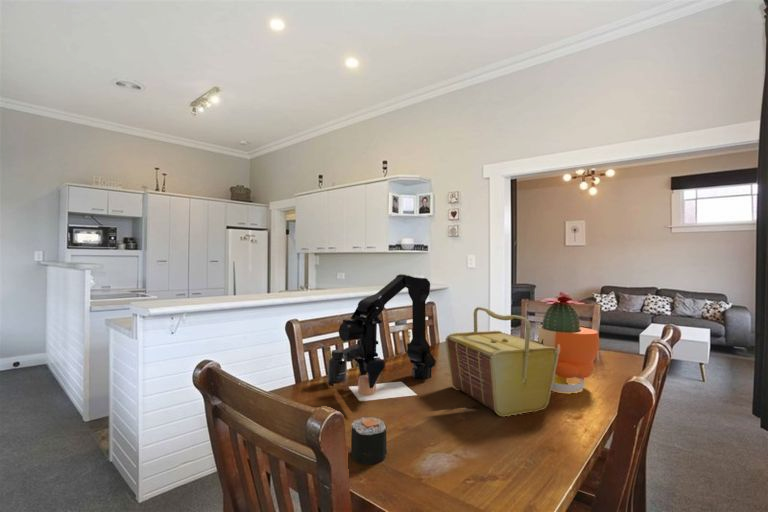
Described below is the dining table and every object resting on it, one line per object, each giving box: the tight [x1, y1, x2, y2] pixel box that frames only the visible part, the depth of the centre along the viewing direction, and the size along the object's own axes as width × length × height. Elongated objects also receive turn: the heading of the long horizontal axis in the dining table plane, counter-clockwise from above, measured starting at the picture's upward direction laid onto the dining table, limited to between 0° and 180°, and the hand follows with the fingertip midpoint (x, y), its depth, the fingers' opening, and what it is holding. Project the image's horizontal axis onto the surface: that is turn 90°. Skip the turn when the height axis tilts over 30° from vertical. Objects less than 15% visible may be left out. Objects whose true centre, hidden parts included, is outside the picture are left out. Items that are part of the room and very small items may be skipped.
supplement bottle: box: [327, 349, 348, 387], centre depth 143 cm, size 7×7×12 cm
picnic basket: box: [445, 306, 559, 418], centre depth 130 cm, size 29×26×30 cm
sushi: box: [350, 416, 388, 466], centre depth 92 cm, size 8×8×8 cm
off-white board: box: [348, 381, 418, 402], centre depth 132 cm, size 20×14×2 cm
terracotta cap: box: [357, 374, 377, 395], centre depth 130 cm, size 6×6×5 cm
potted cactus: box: [537, 291, 601, 392], centre depth 147 cm, size 22×22×35 cm
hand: (366, 383), depth 130 cm, fingers open, 9 cm apart
